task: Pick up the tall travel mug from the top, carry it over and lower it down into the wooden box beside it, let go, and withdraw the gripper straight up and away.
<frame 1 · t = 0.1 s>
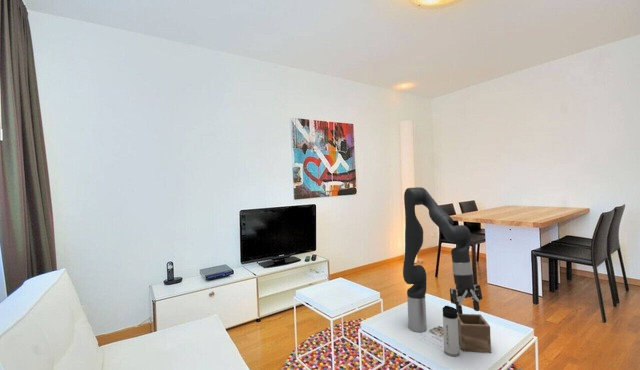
hand: (468, 312, 123), 22 cm above the table, tool pointing down, fingers open, 8 cm apart
wooden box: (472, 344, 138), on the table
travel mug: (451, 352, 133), on the table
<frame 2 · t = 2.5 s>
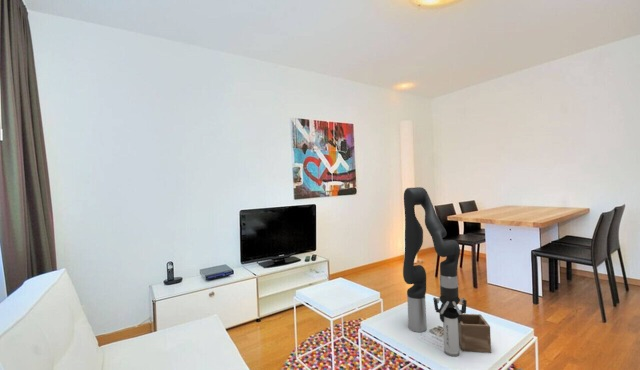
hand: (450, 321, 133), 14 cm above the table, tool pointing down, fingers closed on travel mug, 6 cm apart
travel mug: (451, 352, 133), on the table, touching gripper
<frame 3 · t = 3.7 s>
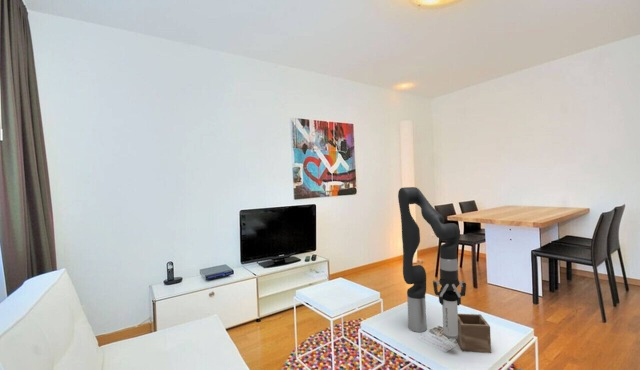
hand: (449, 304, 133), 22 cm above the table, tool pointing down, fingers closed on travel mug, 6 cm apart
travel mug: (450, 335, 133), point 8 cm above the table, touching gripper
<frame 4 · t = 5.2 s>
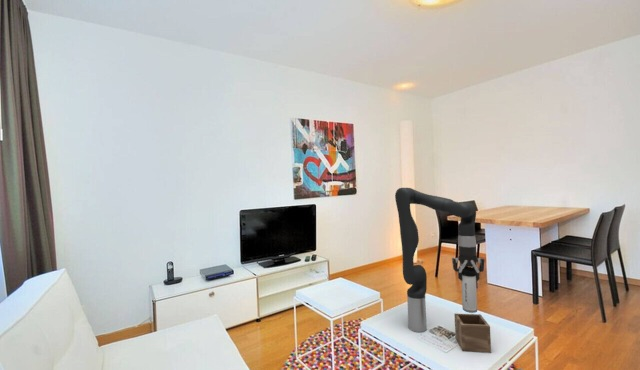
hand: (468, 280, 138), 31 cm above the table, tool pointing down, fingers closed on travel mug, 6 cm apart
travel mug: (469, 310, 139), point 16 cm above the table, touching gripper
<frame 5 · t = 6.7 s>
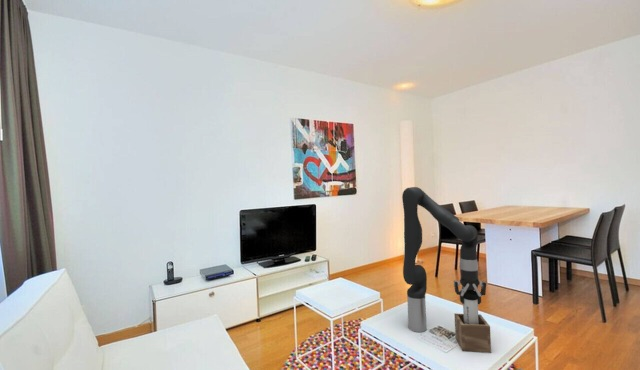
hand: (470, 303, 139), 20 cm above the table, tool pointing down, fingers closed on travel mug, 6 cm apart
travel mug: (471, 333, 139), point 5 cm above the table, touching gripper
when the fingers open (17 cm above the table, at t = 7.9 s): travel mug drops 1 cm, resting on wooden box.
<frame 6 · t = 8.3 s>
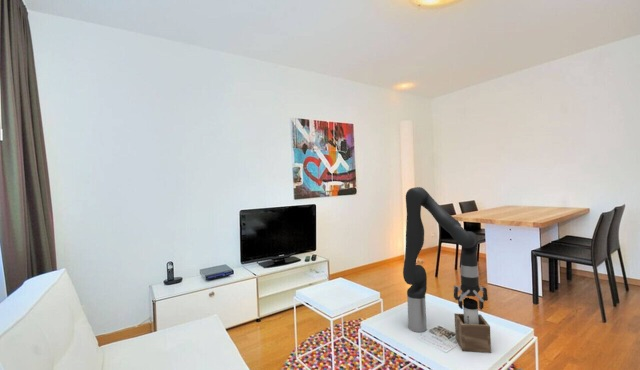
hand: (470, 308, 139), 17 cm above the table, tool pointing down, fingers open, 8 cm apart
travel mug: (472, 342, 139), point 1 cm above the table, touching wooden box
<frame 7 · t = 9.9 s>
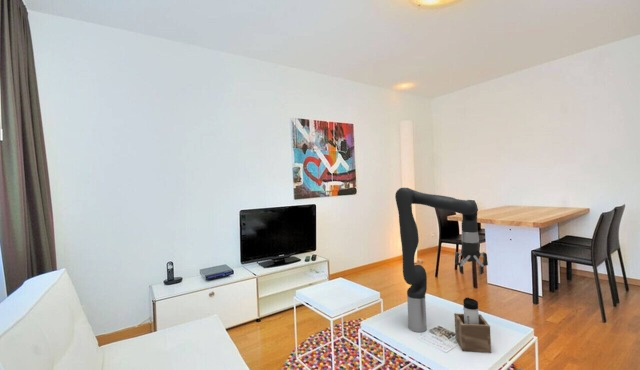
hand: (471, 273, 144), 32 cm above the table, tool pointing down, fingers open, 8 cm apart
nothing on the table moved.
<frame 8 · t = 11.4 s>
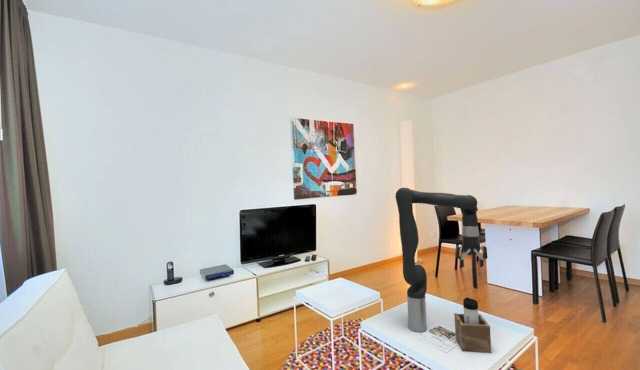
hand: (471, 266, 148), 34 cm above the table, tool pointing down, fingers open, 8 cm apart
nothing on the table moved.
at the end: travel mug 0.4 cm off-centre on the wooden box, point 0.8 cm above the wooden box's base; travel mug tilted 0°; the gripper is holding nothing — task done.
